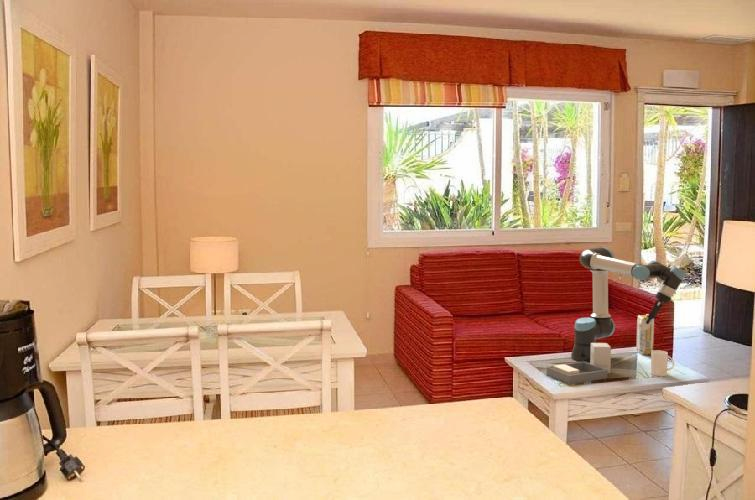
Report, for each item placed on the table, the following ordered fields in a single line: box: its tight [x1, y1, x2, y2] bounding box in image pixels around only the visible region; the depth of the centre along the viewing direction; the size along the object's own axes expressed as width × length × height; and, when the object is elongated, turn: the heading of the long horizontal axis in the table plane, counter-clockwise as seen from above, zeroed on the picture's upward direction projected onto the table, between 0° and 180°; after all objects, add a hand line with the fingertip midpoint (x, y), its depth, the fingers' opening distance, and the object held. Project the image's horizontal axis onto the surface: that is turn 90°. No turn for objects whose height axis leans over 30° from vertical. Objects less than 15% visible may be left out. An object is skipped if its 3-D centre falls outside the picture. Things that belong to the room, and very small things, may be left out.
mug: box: [649, 349, 675, 377], centre depth 338 cm, size 12×8×12 cm
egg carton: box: [552, 363, 579, 375], centre depth 331 cm, size 12×7×6 cm, turn 23°
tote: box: [546, 361, 608, 385], centre depth 334 cm, size 18×25×5 cm
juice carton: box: [635, 313, 655, 356], centre depth 380 cm, size 9×8×24 cm
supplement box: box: [589, 342, 612, 375], centre depth 344 cm, size 9×9×15 cm
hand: (644, 328), depth 339 cm, fingers open, 13 cm apart
